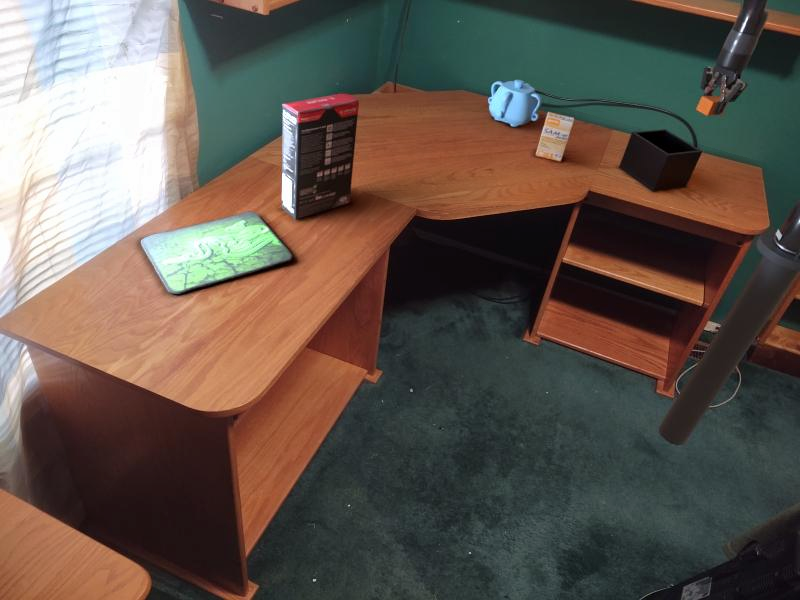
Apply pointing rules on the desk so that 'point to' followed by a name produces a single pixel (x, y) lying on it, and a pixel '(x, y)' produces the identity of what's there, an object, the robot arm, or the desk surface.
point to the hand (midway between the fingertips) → (709, 110)
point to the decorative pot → (514, 102)
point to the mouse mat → (213, 251)
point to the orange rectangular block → (709, 105)
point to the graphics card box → (318, 153)
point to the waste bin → (659, 159)
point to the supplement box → (554, 136)
